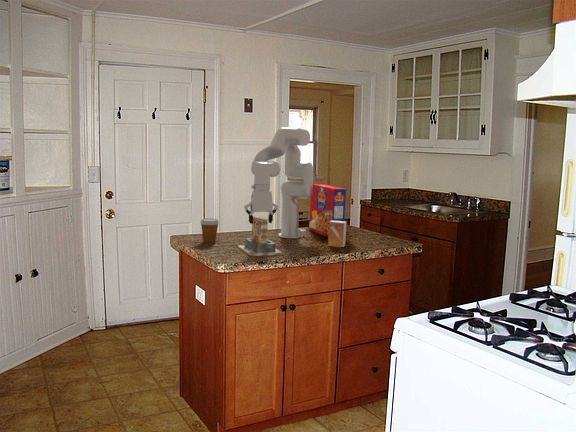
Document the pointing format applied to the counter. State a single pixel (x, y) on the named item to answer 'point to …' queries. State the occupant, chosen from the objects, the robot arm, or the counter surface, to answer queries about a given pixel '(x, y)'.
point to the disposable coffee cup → (209, 230)
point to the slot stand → (259, 248)
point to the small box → (337, 233)
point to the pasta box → (326, 207)
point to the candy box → (259, 230)
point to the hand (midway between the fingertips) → (260, 223)
